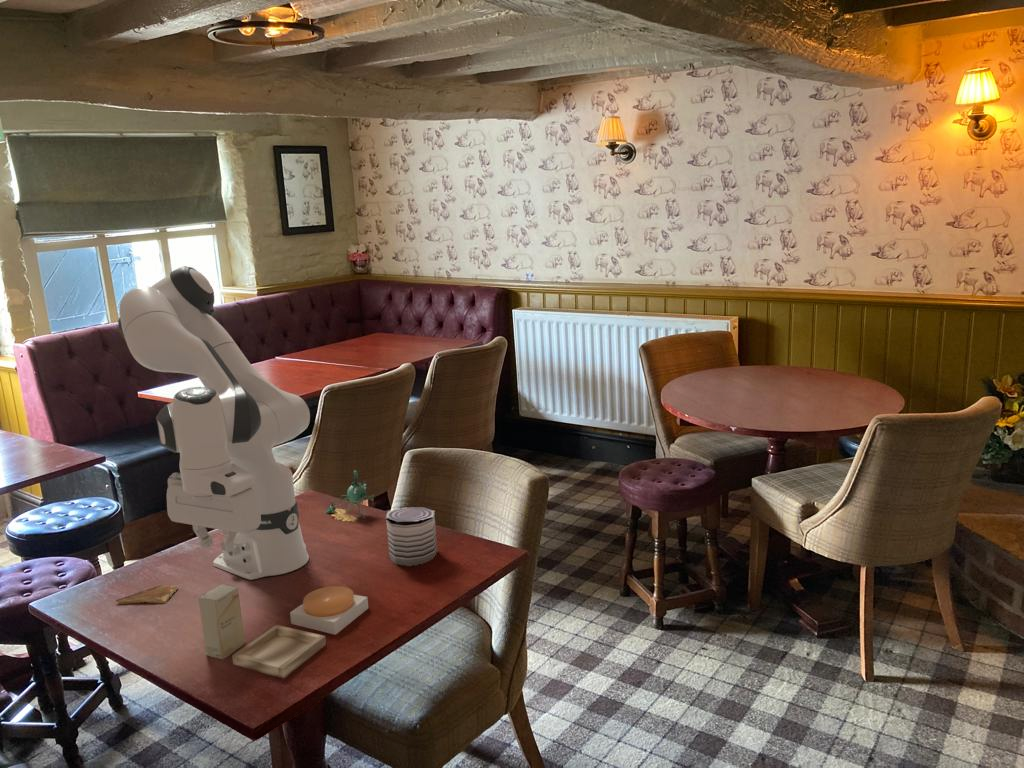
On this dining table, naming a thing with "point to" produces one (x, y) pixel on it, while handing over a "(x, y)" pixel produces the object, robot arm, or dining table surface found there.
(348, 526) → the dining table surface
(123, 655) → the dining table surface
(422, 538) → the can
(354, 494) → the frog figurine
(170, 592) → the shard
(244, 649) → the beige soap dish
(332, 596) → the button
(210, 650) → the skincare box
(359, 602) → the white square base
